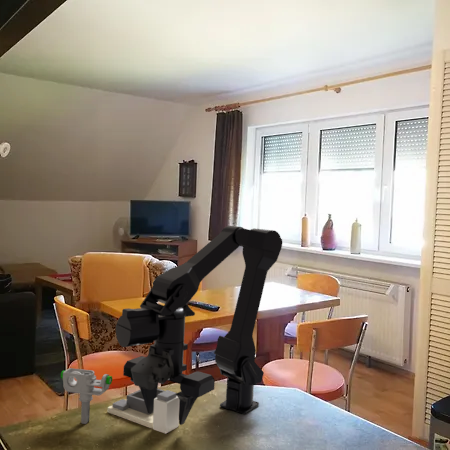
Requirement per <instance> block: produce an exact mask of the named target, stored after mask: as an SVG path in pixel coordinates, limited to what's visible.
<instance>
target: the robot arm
mask: <svg viewBox="0 0 450 450" xmlns="http://www.w3.org/2000/svg"><path fill="white" fill-rule="evenodd" d="M239 247H241V248H242V258H243V261H244V266H245V267H244V271H243V276H242V280H241V285H240V289H239V292H238V297H237V300H236V306H235V309H234V314H233V317H232V321H231V325H230V328H229V331H228V332H227V333H226V334H225V335H224V336H222V335H219V336H218V338H217V342H216V347H215V350H214V352H213V355H215V356H214V357H215V358H214V360H215V361H214V362H215V364H216V365H217V367H218V368H219V371H220V375H222V376H224V377H226V378H227V380H226V390H225V392H226V394H225V400H224V401H222V402H221V403H220V404H219V407H221V408H224V409H227V410H230V411H234V412H237V413H240V414H243V415H244V414H247V413H248V412H250V411H252V410H253V409H255V408H257V407H258V406H259V405H260V402H259V401H255V400H254V389H255V388H254V386H257V385H258V384H260V383H262V381H263V377H264V373H265V372H264V371H263V370H262V369H261V368H260V366H259V365H258V364H257V363H256V353H257V349H256V344H255V341H254V337H253V334H254V331H255V330H254V329H255V326H256V321H257V318H258V312H259V309H260V305H261V304H260V303H261V300H262V296H263V292H264V287H265V283H266V278H267V274H268V272H269V270H270V269H271V268H272V267H273V266H274V265H275V263H276V262H277V261H278V259H279V256H280V253H281V250H282V248H283V238H282V237H281V235H280V233H279V232H278V231H276V230H273V229H265V228H264V229H263V228H261V229H260V228H251V229H247V228H244V227H242V226H237V225H235V226H234V225H227V226H225V227H223V228H222V229H221V232H219V234H218V235H216V236H215V237H214V238H213V239H212V240H211V241H209V242H208V243H207V244H205V245H204V247H202V248H201V249H199V251H198V252H196V253H195V254H194V255H193V256H192V257H190V258H189V259H188V260H187V261H185V262H184V263H182V264H180V265H178V266H175V267H171V268H170V269H167V270H166V271H164V272H162V273H161V274H159V275H158V276H157V277H155V279H154V280H153V282H152V287H151V288H150V290H149V292H147V295H146V296H145V298H144V299H143V300H142V302H141V304H139V307H140V308H123V309H122V311H121V313H122V314H121V316H119V318H118V320H117V321H116V322H117V323H116V324H115V336H116V340H117V343H118V344H119V346H121V348H128V347H134V346H143V345H147V344H148V345H149V344H151V345H149V348H148V354H147V356H142V355H141V356H139V357H135V358H131V359H129V360H127V361H126V362H125V363H124V365H123V372H122V373H123V374H122V375H123V376H124V377H127V378H129V379H130V381H131V382H132V383H133V384H134V386H136V387H138V388H139V390H141V392H142V395H143V398H144V402H145V405H146V408H147V412H148V414H151V413H153V410H154V399H155V398H156V394H157V388H158V389H159V387H158V386H159V384H162V385H164V384H165V383H166V382H171V383H174V384H175V383H176V384H178V385H179V389H180V391H178V392H175V393H176V395H177V397H178V398H179V400H180V403H179V425H180V426H182V425H184V424H185V423H186V420H187V418H188V416H189V414H190V413H191V410H192V409H193V406H194V404H195V403H196V401H197V399H198V398H200V397H202V396H204V395H206V394H208V393H210V392H212V391H214V390H215V385H216V383H215V377H214V376H213V375H212V374H209V373H205V372H202V371H198V370H197V371H194V372H192V373H190V374H184V372H185V371H187V370H188V367H187V366H188V364H185V363H184V351H186V350H188V349H189V347H188V345H189V343H186V342H185V330H186V329H185V328H186V327H185V326H186V317H194V316H195V315H196V313H195V311H194V310H192V308H190V306H189V305H188V303H190V301H191V300H192V299H193V297H194V296H195V295H197V292H198V290H199V288H200V285H201V282H202V281H203V280H204V279H205V278H206V277H207V276H208V275H210V273H212V271H214V270H215V269H216V268H217V267H218V266H219V265H221V264H222V262H224V261H225V260H227V258H228V257H229V256H230V255H231V254H233V252H235V251H237V249H238V248H239ZM160 303H162V304H160ZM163 304H164V305H163ZM153 343H154V344H153Z"/></svg>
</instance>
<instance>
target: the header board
mask: <svg viewBox="0 0 450 450" xmlns="http://www.w3.org/2000/svg"><path fill="white" fill-rule="evenodd" d="M164 391H165V390H164V389H161V388H159V387H158V388H157V394H160V393H162V392H164ZM157 394H156V398H157ZM107 413H108V414H111V415H115V416H117V417H119V418H123V419H125V420H128V421H130V422H133V423H135V424H139V425H141V426H144V427H147V428H149V429H153V413H154V410H153V413H151V414H148V412H147V408H146V405H145V402H144V398H143V395H142V392H141V390H140V389H138V390H136V391H134V392H131V393H129V394H127V395H126V399H123V398H122V399H120V400H116V401H115V402H113V403H112V405H109V406H108V407H107Z"/></svg>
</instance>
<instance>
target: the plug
mask: <svg viewBox="0 0 450 450" xmlns="http://www.w3.org/2000/svg"><path fill="white" fill-rule="evenodd" d="M176 393H177V392H174V391H171V390H169V389H166V390H164V392H162V393H160V394H157V398H155V399H154V413H153V428H152V430H154V431H157V432H160V433H163V434H167V433H170V432H171V431H173V430H175V429H177V428H178V427H179V425H180V424H179V403H180V400H179V398H178V397H177V395H176Z"/></svg>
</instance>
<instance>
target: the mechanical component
mask: <svg viewBox="0 0 450 450" xmlns="http://www.w3.org/2000/svg"><path fill="white" fill-rule="evenodd" d="M60 379H61V380H62V381H63V382H62V383H63V385H62V386H63V389H64V390H65V391H66V392H67V393H76V394H79V398H78V400H79V401H80V402H81V409H80V410H81V412H80V413H81V414H80V417H81V418H80V423H81V424H84V425H85V424H87V425H88V422H90V413H91V412H90V409H91V403H90V402H92V400H93V396H102V395H103V394H104V393H105V392H106V391H108V390H109V389H110V385H111V384H112V383H113V376H112V375H110V374H107V373H105V374H103V376H102V377H101V379H97V375H95V371H94V370H92V369H91V370H90V369H82V368H72V367H69V368H68V369H66V370H64V369H63V370H62V371H61V372H60ZM98 387H99V388H98Z"/></svg>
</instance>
